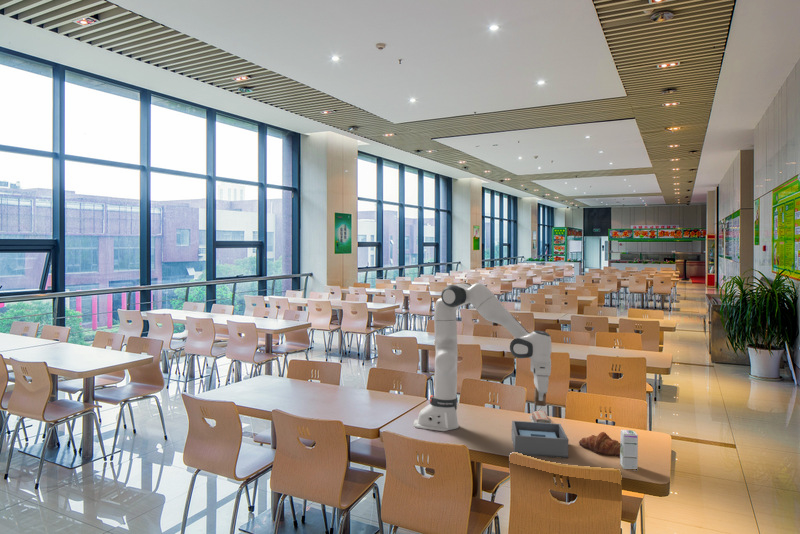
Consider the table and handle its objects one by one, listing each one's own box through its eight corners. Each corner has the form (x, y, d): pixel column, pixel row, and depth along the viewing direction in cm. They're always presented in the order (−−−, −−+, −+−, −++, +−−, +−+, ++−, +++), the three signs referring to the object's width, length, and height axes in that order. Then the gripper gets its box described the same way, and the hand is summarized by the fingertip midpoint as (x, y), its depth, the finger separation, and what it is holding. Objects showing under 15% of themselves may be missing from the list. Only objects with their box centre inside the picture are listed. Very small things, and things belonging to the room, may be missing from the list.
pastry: (614, 445, 246) (615, 427, 246) (630, 457, 231) (630, 439, 230) (578, 444, 245) (578, 427, 245) (591, 457, 230) (592, 438, 230)
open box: (514, 454, 230) (515, 435, 230) (511, 437, 252) (512, 420, 252) (567, 458, 227) (568, 439, 227) (559, 441, 249) (560, 423, 249)
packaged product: (554, 419, 267) (533, 418, 269) (553, 429, 268) (533, 428, 269) (548, 409, 285) (529, 408, 287) (548, 418, 285) (529, 417, 287)
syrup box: (637, 470, 216) (639, 434, 215) (622, 469, 217) (623, 433, 217) (634, 465, 221) (635, 430, 221) (619, 464, 222) (620, 429, 222)
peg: (535, 405, 237) (535, 389, 237) (534, 402, 242) (534, 387, 242) (545, 406, 237) (546, 390, 237) (544, 403, 241) (544, 387, 241)
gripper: (531, 362, 250) (530, 392, 250) (535, 371, 230) (535, 404, 230) (544, 363, 249) (544, 393, 249) (551, 372, 229) (550, 405, 229)
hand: (539, 398), depth 239 cm, fingers closed on peg, 4 cm apart
